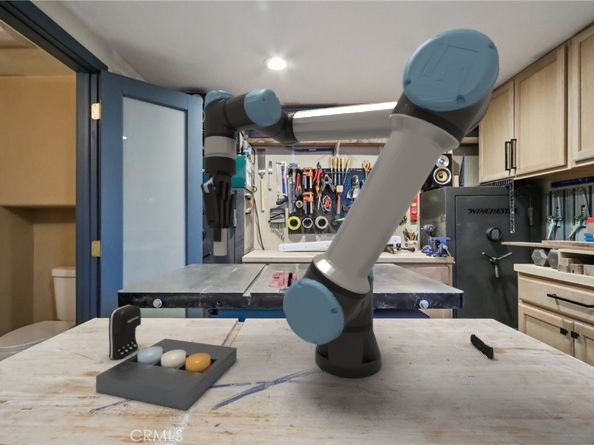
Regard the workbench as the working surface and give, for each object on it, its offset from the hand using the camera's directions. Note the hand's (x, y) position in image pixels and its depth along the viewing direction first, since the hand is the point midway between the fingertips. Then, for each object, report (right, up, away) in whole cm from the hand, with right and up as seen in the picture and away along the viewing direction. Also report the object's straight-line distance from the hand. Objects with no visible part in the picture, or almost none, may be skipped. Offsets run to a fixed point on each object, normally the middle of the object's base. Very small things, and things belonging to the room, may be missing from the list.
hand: (220, 255), depth 67 cm
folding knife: (+65, -25, +2) cm, 70 cm away
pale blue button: (-13, -22, -7) cm, 27 cm away
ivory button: (-8, -22, -9) cm, 25 cm away
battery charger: (-24, -25, +1) cm, 34 cm away
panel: (-8, -24, -9) cm, 27 cm away
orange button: (-2, -22, -10) cm, 24 cm away
